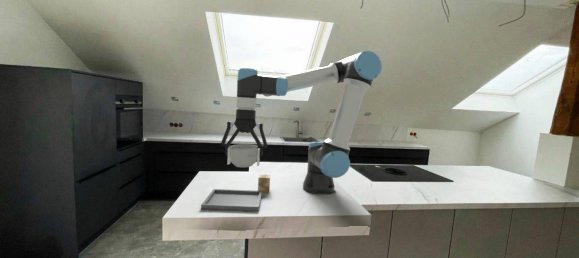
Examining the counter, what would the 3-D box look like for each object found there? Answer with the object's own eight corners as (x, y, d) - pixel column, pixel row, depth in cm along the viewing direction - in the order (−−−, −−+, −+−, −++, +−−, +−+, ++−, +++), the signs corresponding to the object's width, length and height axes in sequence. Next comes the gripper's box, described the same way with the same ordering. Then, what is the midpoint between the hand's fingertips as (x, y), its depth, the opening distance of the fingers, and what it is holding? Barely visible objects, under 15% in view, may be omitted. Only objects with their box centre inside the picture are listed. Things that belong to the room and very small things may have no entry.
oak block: (269, 189, 122) (270, 175, 121) (269, 193, 117) (269, 178, 116) (258, 189, 122) (259, 174, 121) (257, 192, 117) (258, 177, 116)
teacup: (251, 170, 96) (252, 148, 95) (224, 167, 98) (224, 146, 97) (262, 162, 110) (263, 143, 109) (238, 160, 112) (239, 141, 111)
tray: (261, 194, 114) (262, 190, 114) (258, 211, 97) (258, 206, 96) (213, 193, 114) (213, 189, 113) (200, 209, 96) (201, 204, 96)
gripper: (276, 110, 106) (273, 163, 108) (218, 107, 105) (216, 160, 107) (275, 110, 99) (272, 168, 101) (213, 107, 98) (211, 165, 100)
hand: (243, 164), depth 104 cm, fingers closed on teacup, 11 cm apart
